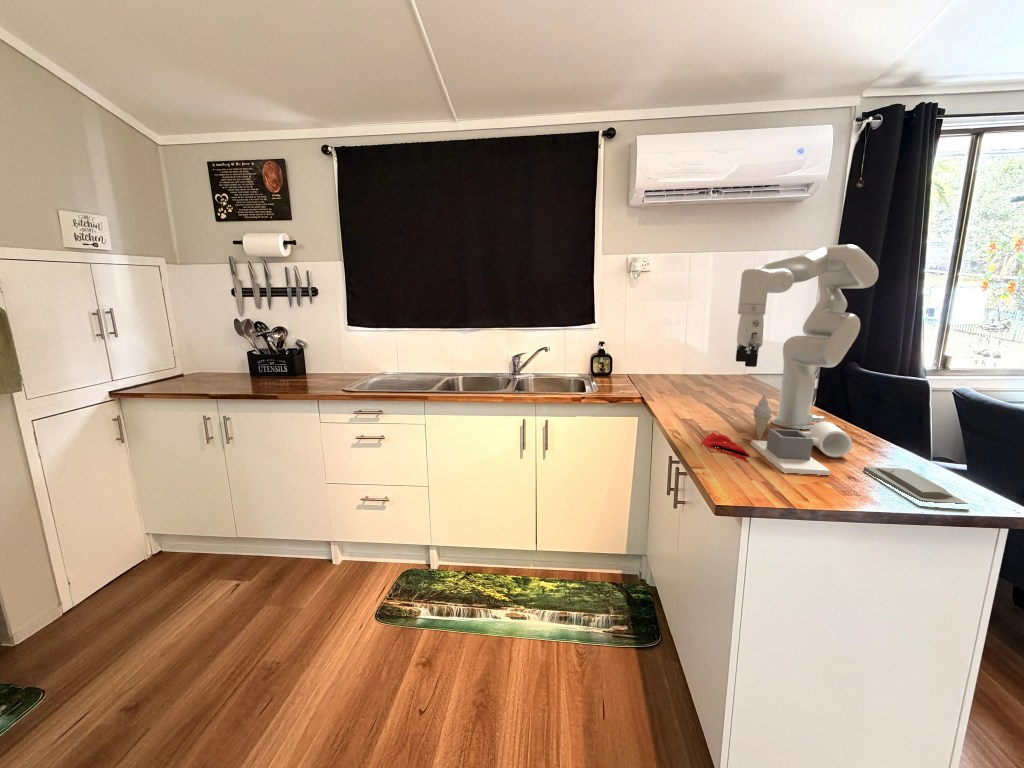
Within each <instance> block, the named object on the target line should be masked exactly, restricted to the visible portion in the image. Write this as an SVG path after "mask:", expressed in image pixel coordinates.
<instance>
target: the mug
mask: <svg viewBox="0 0 1024 768" xmlns="http://www.w3.org/2000/svg"><path fill="white" fill-rule="evenodd" d="M808 430H809V431H802V432H803V433H804V434H806V435H807V436H809V437H811V438H812V439H813V444H812V445H814V446H815V447H816V448H817V449H819V451H820V452H822V453H823V454H824V455H825V456H827V457H831V458H841V457H844V456H846V455H848V454H849V453H850V451H851V450H852V448H853V441H852V438H851V436H850V435H849V434H847V433H846V432H845V431H843V430H842V429H841V428H839V427H838V426H836V424H834V423H832V422H829V421H824V422H817V423H814V424H813V426H812V427H811V429H808Z"/></svg>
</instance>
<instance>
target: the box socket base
mask: <svg viewBox="0 0 1024 768" xmlns="http://www.w3.org/2000/svg"><path fill="white" fill-rule="evenodd" d="M803 432H804V431H802V430H800V429H787V428H786V429H782V428H768V434H767V440H758V439H757V440H754V439H752V440H751V442H750V443H751V444H750V445H751V446H752V447H753V448H754V449H755V450H756V449H757V450H756V451H758V452H759V453H760V454H761V455H762V456H763V457H764V456H765V457H766V458H765V457H764V458H765V459H767V460H768V461H769V462H770V463H771V464H772V463H773V464H774V465H773V464H772V465H773V466H774V467H776V468H777V469H778V468H779V469H780V470H781V471H782V472H787V473H801V474H800V475H803V474H817V475H816V476H820V475H829V476H830V475H831V470H830V469H829V468H827V467H826V466H825V465H823V464H821V463H820V461H819V462H818V461H817V460H816V459H815V458H813V457H812V456H811V455H812V450H813V445H814V444H813V439H812V438H811V437H809V436H807V435H806V434H804V433H803ZM779 469H778V470H779ZM780 470H779V471H780ZM781 471H780V472H781ZM782 472H781V473H782ZM787 473H786V474H787Z"/></svg>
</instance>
